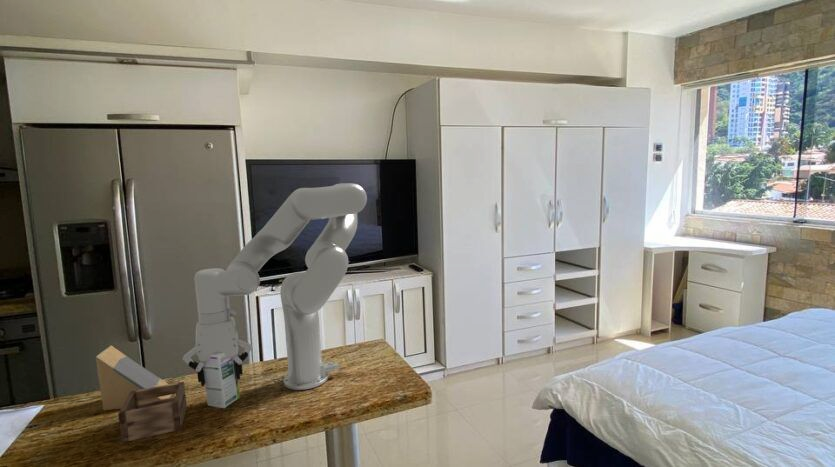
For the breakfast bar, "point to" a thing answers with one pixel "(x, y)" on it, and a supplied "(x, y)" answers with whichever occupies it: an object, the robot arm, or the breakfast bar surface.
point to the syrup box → (221, 380)
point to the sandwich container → (122, 378)
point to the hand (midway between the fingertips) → (221, 380)
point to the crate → (152, 412)
